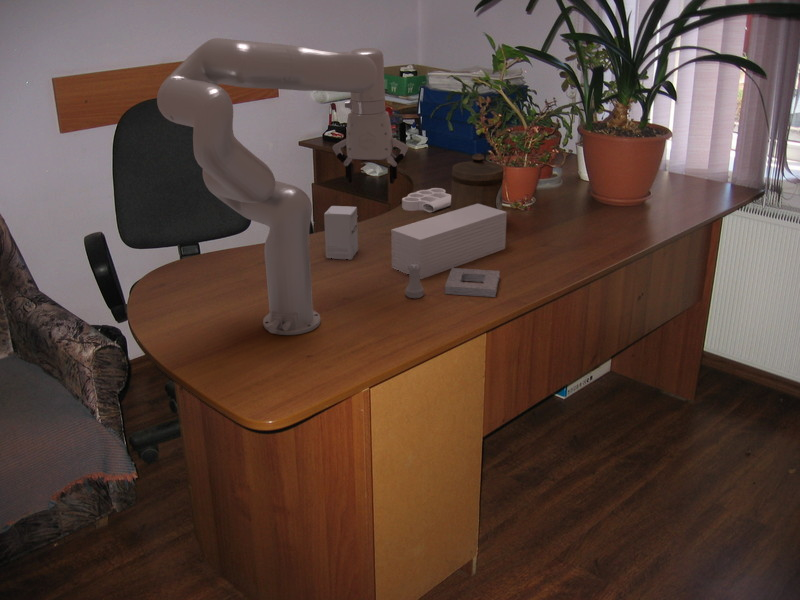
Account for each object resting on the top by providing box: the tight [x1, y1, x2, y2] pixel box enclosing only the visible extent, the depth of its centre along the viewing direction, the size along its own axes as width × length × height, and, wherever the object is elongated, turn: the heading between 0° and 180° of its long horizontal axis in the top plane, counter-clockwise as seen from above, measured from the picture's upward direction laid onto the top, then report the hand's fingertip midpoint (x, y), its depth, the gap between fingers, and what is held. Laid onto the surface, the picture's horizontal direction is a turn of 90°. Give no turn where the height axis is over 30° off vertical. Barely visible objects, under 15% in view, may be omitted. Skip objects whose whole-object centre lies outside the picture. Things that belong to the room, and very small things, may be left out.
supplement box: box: [323, 205, 359, 261], centre depth 219 cm, size 7×7×13 cm
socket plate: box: [444, 267, 501, 298], centre depth 200 cm, size 12×12×2 cm
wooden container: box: [450, 153, 504, 212], centre depth 236 cm, size 15×15×22 cm
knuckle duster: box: [401, 187, 451, 213], centre depth 262 cm, size 3×18×15 cm
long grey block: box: [390, 204, 508, 280], centre depth 216 cm, size 32×11×11 cm, turn 132°
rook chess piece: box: [404, 262, 425, 300], centre depth 194 cm, size 4×4×8 cm
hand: (371, 181), depth 189 cm, fingers open, 9 cm apart
